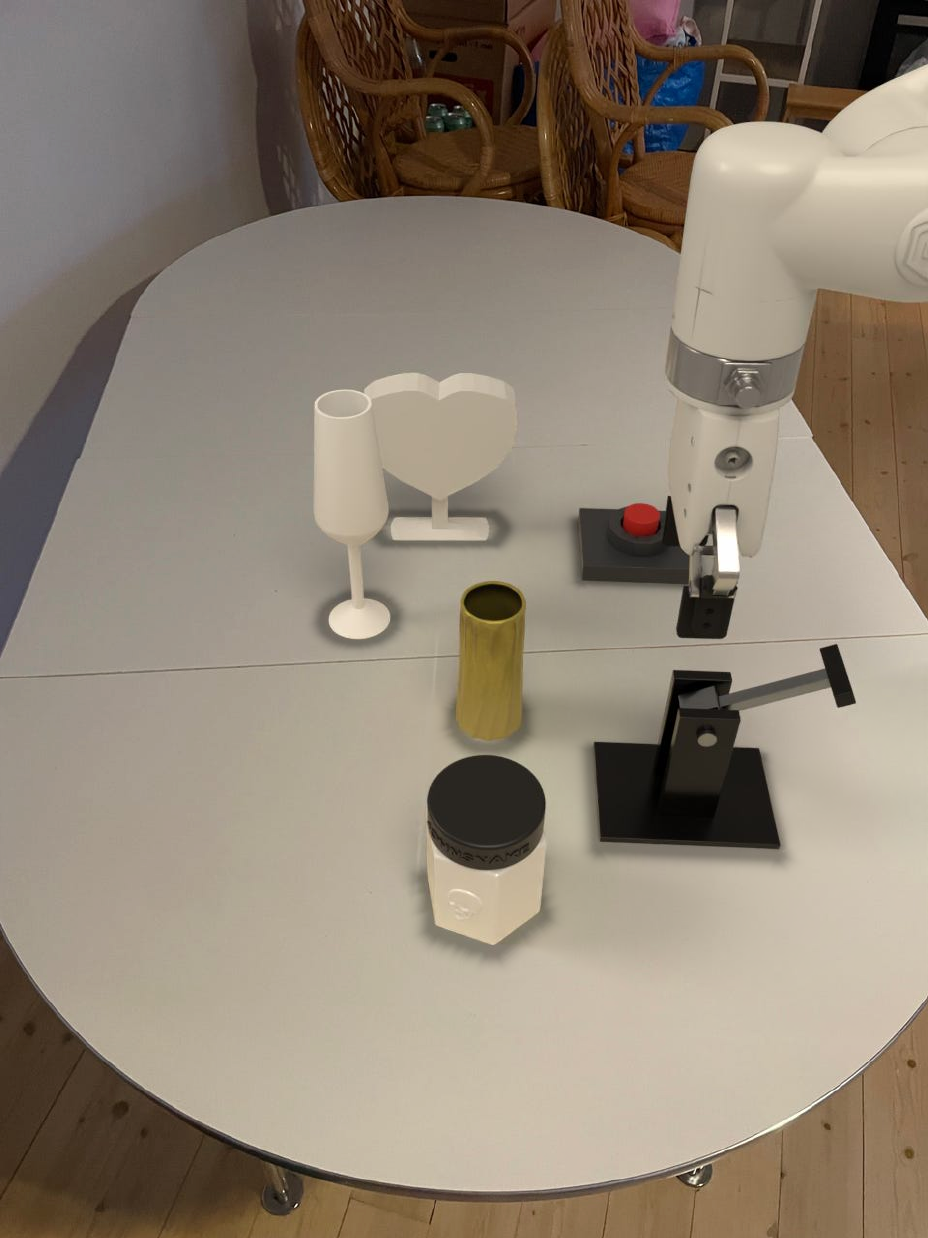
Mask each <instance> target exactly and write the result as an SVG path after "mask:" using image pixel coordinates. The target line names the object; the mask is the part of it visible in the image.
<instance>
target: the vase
mask: <svg viewBox="0 0 928 1238" xmlns="http://www.w3.org/2000/svg"><path fill="white" fill-rule="evenodd" d="M459 604H460V605H459V607H460V608H459V631H458V632H459V635H458V637H459V641H458V642H459V646H458V648H459V649H458V681H457V692H456V705H455V720H456V722H457V723H458V726H459V729H460V730H461V731H462V732H464V733H465V734H467V735H468V736H470V738H472V739H478V740H483V741H486V742H491V741H494V740H501V739H502V740H503V739H506V738H507V737H509V736H510V735H511V734H513V733H514V732H515V731H517V730H519V729H520V727H521V725H522V717H523V690H524V689H523V687H524V684H523V683H524V676H523V675H524V674H523V673H524V672H523V670H524V647H525V631H526V607H527V600H526V597H525V595H524V594H523V592H522V591H521V590H520V589H519V588H518V587H516V586H515V585H513V584H512V583H508V582H504V581H501V580H485V581H481V582H478V583H474V584H472V585H471V586H469V587H468V588H466V589H465V590H464V591H463V593H462V595H461V598H460V603H459Z"/></svg>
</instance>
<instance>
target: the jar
mask: <svg viewBox="0 0 928 1238" xmlns="http://www.w3.org/2000/svg"><path fill="white" fill-rule="evenodd" d="M546 809H547V800H546V795H545V791H544V788H543V785H542V784H541V783H540V781H539V779H538V778H537V776H536V775H535V774H534V773H533V772H531V771H530V769H528V768H527V767H525V766H524V765H522V764H521V763H519V762H517V761H516V760H513V759H510V758H508V757H504V756H500V755H495V754H477V755H470V756H466V757H463V758H460V759H458V760H455V761H454V762H452V763H450V764H448V765H447V766H446V767H444V768H442V770H440V772H438V773H437V775H436V776H435V777H434V779H433V780H432V782H431V784H430V786H429V788H428V792H427V799H426V804H425V826H426V827H425V828H426V829H425V831H426V868H427V869H426V870H427V881H428V887H429V893H430V900H431V906H432V913H433V920H434V924H435V925H436V927H440V928H442V929H445V930H448V931H451V932H453V933H457V934H460V935H463V936H465V937H467V938H471V939H474V940H477V941H480V942H483V943H486V944H488V945H491V946H494V945H497V944H498V943H500V941H502V940H503V939H505V938H506V937H508V936H509V935H510V934H511V933H513V932H514V931H515V930H517V929H518V928H520V927H522V925H524V924H525V923H527V921H530V919H532V918H533V917H534V916H536V915H537V914H539V913H540V912H541V907H542V906H541V905H542V898H543V897H542V895H543V886H544V876H545V866H546V858H547V857H546V856H547V847H548V840H547V836H546V833H545V832H546V831H545V828H544V827H545V819H546V818H545V817H546Z"/></svg>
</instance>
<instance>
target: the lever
mask: <svg viewBox="0 0 928 1238" xmlns="http://www.w3.org/2000/svg"><path fill="white" fill-rule="evenodd" d="M819 654H820V656H821V659H822V663H823V666H824V668H821V669H816V670H814V671H809V672H806V673H802V674H798V675H795V676H791V677H787V678H783V679H779V680H776V681H772V682H768V683H763V684H760V685H757V686H753V687H749V688H744V689H741V690H738V691H733V692H731V693H730V692H729V694H726V695H722V696H718V694H717V691H716V689H715V687H714V686H711V687H707V688H703V689H699V690H696V691H692V692H688V693H684V694H681V695H679V696H678V697H679V704H680V708H693V709H719V710H739V712H741V711H745V710H749V709H753V708H756V707H761V706H765V705H768V704H771V703H776V702H780V701H784V700H787V699H791V698H795V697H799V696H803V695H806V694H811V693H814V692H818V691H823V690H827V689H830V688H831V692H832V696H833V698H834V701H835V705H836V707H837V708H838V709H840V708H844V707H848V706H852V705H855V704H857V701H856V697H855V694H854V690H853V687H852V685H851V682H850V678H849V675H848V672H847V669H846V666H845V663H844V660H843V657H842V655H841V651H840V648H839V645H838V644H837V643H834V644H830V645H827V646H824V647H819Z"/></svg>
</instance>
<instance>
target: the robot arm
mask: <svg viewBox="0 0 928 1238" xmlns="http://www.w3.org/2000/svg"><path fill="white" fill-rule="evenodd" d="M689 181H690V182H689V188H688V196H687V202H686V203H687V204H686V212H685V218H684V219H685V220H684V225H683V236H682V240H681V241H682V242H681V249H680V250H681V251H680V256H679V265H678V270H677V271H678V272H677V279H676V287H675V294H674V301H673V308H672V315H671V317H672V318H671V323H670V324H671V325H670V331H669V338H668V346H667V352H666V359H665V367H664V376H663V380H664V385H665V387H666V388H667V390H668V392H670V393H671V394H672V395H673V396H674V397H675V398H676V403H675V404H676V405H675V409H674V416H673V420H672V428H671V436H670V442H669V451H668V463H667V464H668V467H667V469H668V470H667V476H668V478H667V479H668V488H669V493H670V495H667V498H666V506H665V510H664V511H665V518H664V525H663V531H662V543H663V544H664V545H666V546H681V548H682V549H683V550H684V552H685V553H687V554H688V555H690V563H689V584H688V585H683V586H682V592H681V597H680V603H679V610H678V615H677V620H676V626H675V631H676V632H675V633H676V636H677V637H678V638H680V639H698V640H699V639H700V640H704V639H705V640H723V639H725V638H726V637H727V635H728V631H729V625H730V621H731V617H732V613H733V607H734V604H735V599H736V597H737V593H738V592H737V591H738V584H739V580H740V575H741V574H740V573H741V568H740V554H741V557H742V558H743V557H745V558H746V557H749V558H755V557H756V556H758V554H759V553H760V551H761V548H762V545H763V539H764V532H765V529H766V528H765V527H766V523H767V522H766V521H767V516H768V510H769V504H770V499H771V493H772V488H773V482H774V475H775V467H776V460H777V454H778V453H777V452H778V443H779V434H780V433H779V432H780V415H781V413H780V411H781V410H780V408H782V407H784V406H785V405H786V404H788V403H789V402H790V401H791V400H792V399H793V398H794V394H795V390H796V387H797V382H798V377H799V372H800V369H801V364H802V360H803V355H804V351H805V347H806V342H807V337H808V333H809V329H810V325H811V320H812V316H813V311H814V308H815V304H816V299H817V294H818V291H819V289H822V290H826V291H832V292H833V291H834V292H839V293H845V294H851V295H855V296H861V297H866V298H870V299H875V300H882V301H887V302H895V303H918V304H919V303H920V304H921V303H928V63H927V64H925V65H921V66H919V67H918V68H916V69H913V70H911V71H909V72H906V73H904V74H902V75H899V76H898V77H896V78H895V77H894V78H893V79H891V80H888V81H887V82H884V83H883V84H881V85H878V86H876V87H874V88H872V89H871V90H869V91H867V92H866V93H864V94H863V95H861V96H859V97H858V98H856V99H855V100H854V101H853V102H851V103H850V104H848V105H847V106H846V107H844V108H843V109H841V111H840V112H838V113H837V115H836V116H834V117H833V118H832V119H831V120H830V121H829V123H828V124H827V125H826V126H825V128H824V129H823V130H822V132H820V131H818V130H815V129H812V128H810V127H807V126H802V125H799V124H794V123H788V122H781V121H749V122H747V121H746V122H740V123H736V124H730V125H728V126H724V127H721V128H719V129H717V130H716V131H714V132H712V133H711V134H710V135H708V136H707V137H706V138H705V139H704V140H703V141H702V143H701V144H700V146H699V147H698V149H697V152H696V154H695V156H694V159H693V164H692V169H691V175H690V179H689ZM709 536H712V545H707V544H708V540H709ZM739 551H740V552H739ZM702 557H713V565H712V569H711V574H706V575H705V574H704V575H703V576H702V573H701V567H702Z"/></svg>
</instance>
